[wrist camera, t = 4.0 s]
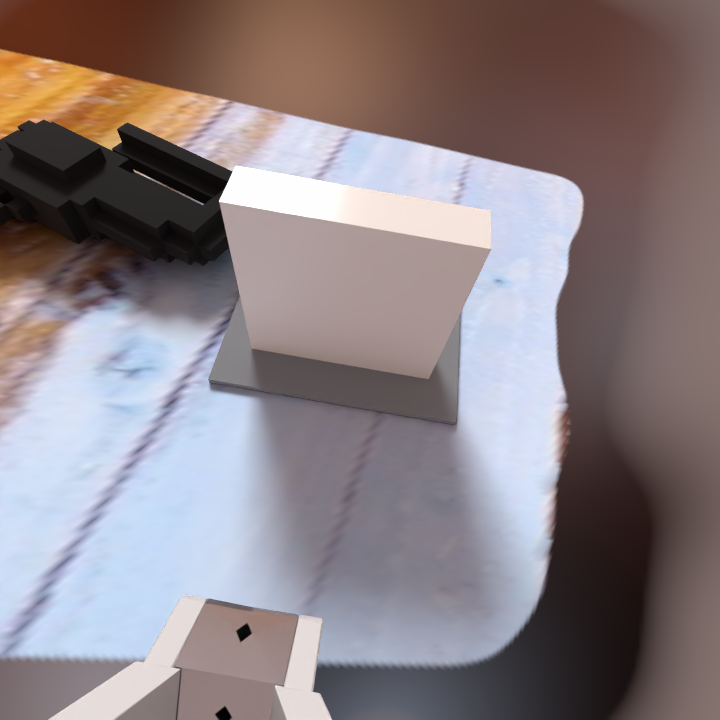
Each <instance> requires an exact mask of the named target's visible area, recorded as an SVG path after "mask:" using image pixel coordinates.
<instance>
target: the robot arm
mask: <svg viewBox="0 0 720 720" xmlns="http://www.w3.org/2000/svg"><path fill="white" fill-rule="evenodd" d="M298 619H299V620H298ZM322 626H323V620H322V618H317V617H311V616H304V615H300V616H299V615H297V614H291V613H285V612H279V611H273V610H267V609H261V608H255V607H254V608H253V607H248V606H243V605H238V604H233V603H228V602H223V601H218V600H213V599H205V598H201V597H196V596H191V595H186V594H185V595H184V596H183V597H182V598H181V599H180V600H179V602H178V603H177V605H176V607H175V608H174V610H173V612H172V614H171V615H170V617H169V619H168V621H167V622H166V624H165V626H164V628H163V629H162V631H161V633H160V635H159V636H158V638H157V640H156V642H155V643H154V645H153V647H152V649H151V650H150V652H149V654H148V656H147V657H146V659H145V661H144V662H137V661H136V662H134V663H133V664H131V665H130V666H129V667H127V668H125V669H124V670H122V671H121V672H119V673H118V674H116V675H115V676H113V677H112V678H110V679H109V680H107V681H106V682H104V683H103V684H101V685H100V686H98V687H97V688H95V689H94V690H92V691H91V692H89V693H88V694H86V695H85V696H84V697H82V698H80V699H79V700H77V701H76V702H74V703H73V704H71V705H70V706H68V707H67V708H65V709H64V710H62V711H61V712H59V713H58V714H56V715H55V716H53V717H52V718H50V719H49V720H332V719H331V716H330V714H329V712H328V710H327V708H326V705H325V703H324V701H323V699H322V696H321V694H320V693H315V692H313V687H314V681H315V673H316V667H317V660H318V653H319V646H320V639H321V632H322Z"/></svg>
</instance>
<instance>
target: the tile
mask: <svg viewBox="0 0 720 720" xmlns="http://www.w3.org/2000/svg"><path fill="white" fill-rule="evenodd" d="M219 203H220V207H221V212H222V216H223V221H224V226H225V230H226V235H227V239H228V244H229V248H230V253H231V257H232V262H233V266H234V271H235V275H236V280H237V285H238V289H239V294H240V298H241V303H242V307H243V312H244V316H245V321H246V325H247V330H248V334H249V339H250V344H251V348H252V349H257V350H263V351H269V352H274V353H280V354H286V355H292V356H297V357H303V358H309V359H315V360H321V361H326V362H332V363H338V364H344V365H349V366H355V367H361V368H367V369H372V370H378V371H384V372H390V373H395V374H401V375H407V376H413V377H418V378H424V379H429V377H430V375H431V373H432V371H433V369H434V367H435V365H436V363H437V361H438V359H439V357H440V355H441V352H442V350H443V348H444V346H445V344H446V342H447V340H448V338H449V336H450V334H451V332H452V330H453V328H454V325H455V323H456V321H457V319H458V317H459V315H460V313H461V311H462V309H463V307H464V305H465V303H466V300H467V298H468V296H469V294H470V292H471V290H472V288H473V286H474V284H475V282H476V280H477V278H478V275H479V273H480V271H481V269H482V267H483V265H484V263H485V261H486V259H487V257H488V255H489V253H490V250H491V211H489V210H483V209H478V208H472V207H466V206H460V205H455V204H449V203H443V202H438V201H432V200H426V199H421V198H415V197H409V196H404V195H398V194H392V193H387V192H381V191H375V190H369V189H364V188H358V187H352V186H347V185H341V184H335V183H330V182H324V181H318V180H313V179H307V178H301V177H296V176H290V175H284V174H279V173H273V172H267V171H261V170H256V169H250V168H244V167H239V166H236V167H235V169H234V171H233V173H232V175H231V177H230V180H229V182H228V184H227V186H226V188H225V190H224V192H223V194H222V196H221V199H220V201H219Z"/></svg>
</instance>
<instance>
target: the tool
mask: <svg viewBox="0 0 720 720" xmlns="http://www.w3.org/2000/svg"><path fill="white" fill-rule="evenodd" d="M18 128H19V130H20V131H19V130H17V131H15V132H13V133H11V134H10V135H8V136H6V137H4V138H2V139H1V140H0V226H1V225H3V224H4V223H6V222H7V221H9V220H10V219H12V218H13V217H15V218H17V219H19V220H21V221H22V222H24V223H26V222H28V221H29V220H31V219H34V220H36V221H38V222H39V223H41V224H43V225H45V226H47V227H49V228H50V229H52V230H54V231H56V232H58V233H60V234H61V235H63V236H65V237H67V238H69V239H71V240H73V241H74V242H76V243H78V244H79V243H81V242H82V241H83V240H85V239H86V238H87V237H89V236H90V235H91V236H93V237H95V238H97V239H98V240H100V241H103V240H104V239H105V238H106V237H110V238H111V239H113V240H115V241H117V242H119V243H121V244H123V245H125V246H126V247H128V248H130V249H132V250H134V251H136V252H138V253H140V254H141V255H143V256H145V257H147V258H149V259H151V260H153V261H156V260H157V259H159V258H162V259H164V260H166V261H167V262H169V263H170V262H172V261H173V260H174V259H175V258H178V259H180V260H182V261H184V262H186V263H187V264H189V265H191V264H192V263H193V262H194V261H195V262H197V263H199V264H201V265H203V266H204V265H206V264H207V263H208V262H209V261H212V262H213V261H214V260H216V259H217V258H218V257H219V256H220V255H221V254H222V253H223V252H224V251H225V250H226V249H227V248H228V247H229V244H228V239H227V235H226V230H225V226H224V221H223V216H222V212H221V207H220V203H219V201H220V199H221V196H222V194H223V192H224V190H225V188H226V186H227V184H228V182H229V180H230V177H231V175H232V173H233V172H232V171H230V170H228V169H226V168H224V167H222V166H219V165H217V164H215V163H213V162H211V161H209V160H207V159H204V158H202V157H200V156H198V155H196V154H194V153H192V152H189V151H187V150H185V149H183V148H181V147H179V146H177V145H174V144H172V143H170V142H168V141H166V140H164V139H162V138H159V137H157V136H155V135H153V134H151V133H149V132H147V131H144V130H142V129H140V128H138V127H136V126H134V125H131V124H129V123H126V124H124V125H123V126H121V127H120V128H118V129H117V130H118V133H119V135H120V138H121V141H122V143H120V144H118V145H117V146H115V147H114V148H112V150H113V151H111V150H109V149H107V148H105V147H103V146H101V145H99V144H97V143H95V142H93V141H91V140H89V139H87V138H85V137H83V136H81V135H78V134H76V133H74V132H72V131H70V130H68V129H66V128H64V127H62V126H60V125H58V124H56V123H54V122H51V123H50V122H48V121H46V120H42V121H40V122H39V123H37V124H36V123H33V122H31V121H27V122H25V123H23V124H21V125H20V126H18ZM133 169H134V170H136V171H138V172H140V173H142V174H144V175H146V176H148V177H150V178H152V179H154V180H156V181H159V182H161V183H163V184H165V185H167V186H169V187H171V188H173V189H175V190H177V191H179V192H181V193H183V194H185V195H187V196H189V197H191V198H193V199H195V200H197V201H199V202H201V203H203V204H204V205H201V204H199V203H196V202H194V201H192V200H190V199H188V198H186V197H184V196H182V195H180V194H178V193H176V192H174V191H172V190H170V189H168V188H166V187H164V186H162V185H160V184H158V183H156V182H154V181H152V180H150V179H148V178H146V177H144V176H141V175H139V174H137V173H135V172H134V171H133Z"/></svg>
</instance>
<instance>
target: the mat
mask: <svg viewBox="0 0 720 720" xmlns="http://www.w3.org/2000/svg"><path fill="white" fill-rule="evenodd" d="M459 333H460V315H459V317H458V319H457V321H456V323H455V325H454V328H453V330H452V332H451V334H450V336H449V338H448V340H447V342H446V344H445V346H444V348H443V350H442V352H441V355H440V357H439V359H438V361H437V363H436V365H435V367H434V369H433V371H432V373H431V375H430V377H429V379H424V378H418V377H413V376H407V375H401V374H395V373H390V372H384V371H378V370H372V369H367V368H361V367H355V366H349V365H344V364H338V363H332V362H326V361H321V360H315V359H309V358H303V357H297V356H292V355H286V354H280V353H274V352H269V351H263V350H257V349H252V348H251V344H250V339H249V334H248V330H247V325H246V321H245V316H244V312H243V307H242V303H241V298H240V296H239V298H238V301H237V304H236V307H235V309H234V312H233V315H232V317H231V320H230V323H229V325H228V328H227V331H226V333H225V336H224V339H223V341H222V344H221V347H220V350H219V352H218V355H217V358H216V360H215V363H214V366H213V368H212V371H211V374H210V376H209V379H208V380H209V382H210V383H216V384H222V385H228V386H234V387H239V388H245V389H251V390H257V391H263V392H268V393H274V394H280V395H286V396H291V397H297V398H303V399H309V400H315V401H320V402H326V403H332V404H338V405H343V406H349V407H355V408H361V409H367V410H372V411H378V412H384V413H390V414H395V415H401V416H407V417H413V418H419V419H424V420H430V421H436V422H442V423H447V424H453V425H455V424H456V423H457V395H458V364H459Z"/></svg>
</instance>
